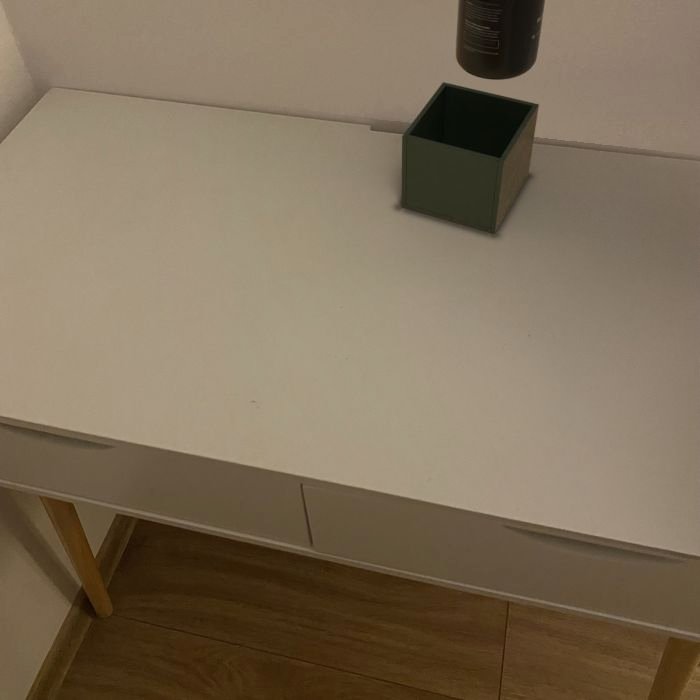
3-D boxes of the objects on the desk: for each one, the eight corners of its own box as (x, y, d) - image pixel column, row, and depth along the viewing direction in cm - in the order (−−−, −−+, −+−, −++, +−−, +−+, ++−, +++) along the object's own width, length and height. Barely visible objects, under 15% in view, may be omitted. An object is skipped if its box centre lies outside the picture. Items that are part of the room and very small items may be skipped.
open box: (528, 175, 86) (539, 104, 79) (494, 233, 80) (503, 162, 74) (439, 152, 89) (442, 81, 83) (401, 206, 83) (401, 136, 77)
